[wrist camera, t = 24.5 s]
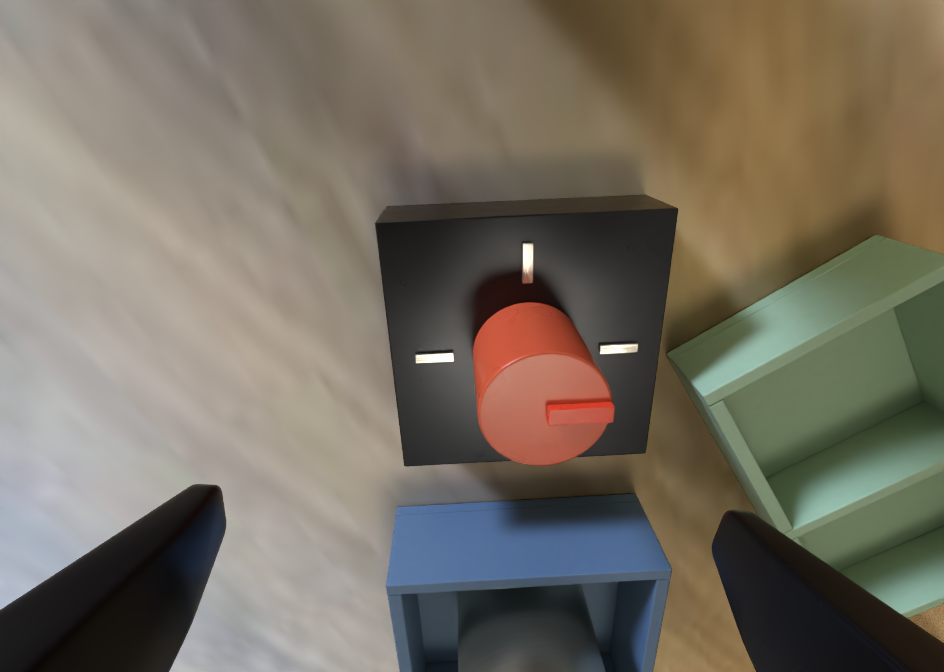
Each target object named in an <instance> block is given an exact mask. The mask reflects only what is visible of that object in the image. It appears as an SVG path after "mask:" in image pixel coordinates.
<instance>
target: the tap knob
mask: <svg viewBox="0 0 944 672" xmlns="http://www.w3.org/2000/svg"><path fill="white" fill-rule="evenodd" d="M473 365H474V377H475V389H476V401H477V413H478V422H479V426H480V429H481V431H482V433H483V436H484V437H485V439H486V440H487V442H488V443H489V444H490V445H491V446H492V447H493V448H494V449H495V450H496V451H497V452H498V453H500V454H501V455H503V456H504V457H506V458H508V459H510V460H513V461H515V462H518V463H522V464H527V465H535V466H544V465H553V464H557V463H561V462H564V461H568V460H570V459H572V458H574V457H576V456H578V455H580V454H582V453H583V452H585V451H586V450H587V449H589V448H590V447H591V446H592V445H593V444H594V443H595V442H596V441H597V440H598V439H599V438H600V436H601V435H602V433H603V432H604V430H605V428H606V426H607V424H608V423H613V420H614V410H615V406H614V405H613V403H612V396H611V391H610V387H609V385H608V383H607V381H606V378H605V377H604V375H603V373H602V372H601V370H600V368H599V366H598V365H597V363H596V361H595V359H594V358H593V356H592V354H591V352H590V351H589V349H588V347H587V346H586V344H585V342H584V340H583V339H582V337H581V335H580V333H579V332H578V330H577V328H576V326H575V325H574V323H573V322H572V321H571V320H570V319H569V317H568V316H567V315H565V314H564V313H563V312H561V311H560V310H558V309H556V308H554V307H552V306H550V305H546V304H542V303H535V302H526V303H519V304H514V305H511V306H508V307H506V308H504V309H502V310H500V311H498V312H497V313H495V314H494V315H493V316H491V317H490V318H489V319H488V320H487V321H486V322H485V323H484V325H483V326H482V327H481V329H480V330H479V332H478V334H477V336H476V339H475V342H474V346H473Z"/></svg>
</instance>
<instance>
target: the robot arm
mask: <svg viewBox="0 0 944 672" xmlns="http://www.w3.org/2000/svg"><path fill="white" fill-rule="evenodd" d="M225 530H226V516H225V509H224V502H223V495H222V491H221V488H220V487H219V486H217V485H207V484H195V485H192V486H190V487H188V488H187V489H185V490H184V491H182V492H181V493H179V494H178V495H176V496H175V497H173V498H171V499H170V500H168V501H167V502H165V503H164V504H162V505H161V506H159V507H158V508H156V509H155V510H153V511H151V512H150V513H148V514H147V515H145V516H144V517H142V518H141V519H139V520H138V521H136V522H135V523H133V524H132V525H130V526H128V527H127V528H125V529H124V530H122V531H121V532H119V533H118V534H116V535H115V536H113V537H112V538H110V539H109V540H107V541H105V542H104V543H102V544H101V545H99V546H98V547H96V548H95V549H93V550H92V551H90V552H89V553H87V554H85V555H84V556H82V557H81V558H79V559H78V560H76V561H75V562H73V563H72V564H70V565H69V566H67V567H66V568H64V569H62V570H61V571H59V572H58V573H56V574H55V575H53V576H52V577H50V578H49V579H47V580H46V581H44V582H42V583H41V584H39V585H38V586H36V587H35V588H33V589H32V590H30V591H29V592H27V593H26V594H24V595H23V596H21V597H19V598H18V599H16V600H15V601H13V602H12V603H10V604H9V605H7V606H6V607H4V608H3V609H1V610H0V672H169V671H170V669H171V667H172V665H173V662H174V660H175V658H176V656H177V654H178V652H179V650H180V648H181V646H182V644H183V642H184V640H185V637H186V635H187V633H188V631H189V629H190V626H191V624H192V621H193V619H194V616H195V614H196V611H197V609H198V606H199V603H200V600H201V598H202V595H203V592H204V589H205V587H206V584H207V581H208V578H209V576H210V573H211V570H212V567H213V565H214V562H215V559H216V556H217V554H218V551H219V548H220V545H221V543H222V540H223V537H224V534H225ZM712 553H713V557H714V560H715V563H716V566H717V569H718V572H719V575H720V578H721V581H722V584H723V586H724V589H725V592H726V595H727V598H728V601H729V604H730V607H731V610H732V613H733V615H734V618H735V621H736V624H737V627H738V630H739V632H740V635H741V638H742V640H743V643H744V645H745V647H746V650H747V652H748V654H749V657H750V659H751V661H752V663H753V666H754V668H755V670H756V672H944V643H943V642H941V641H940V640H938V639H937V638H935V637H934V636H932V635H931V634H929V633H928V632H927V631H925V630H924V629H922V628H921V627H919V626H918V625H916V624H915V623H913V622H912V621H910V620H909V619H907V618H906V617H905V616H903V615H902V614H900V613H899V612H897V611H896V610H894V609H893V608H891V607H890V606H888V605H887V604H886V603H884V602H883V601H881V600H880V599H878V598H877V597H875V596H874V595H872V594H871V593H869V592H868V591H866V590H865V589H864V588H862V587H861V586H859V585H858V584H856V583H855V582H853V581H852V580H850V579H849V578H847V577H846V576H844V575H843V574H842V573H840V572H839V571H837V570H836V569H834V568H833V567H831V566H830V565H828V564H827V563H825V562H824V561H823V560H821V559H820V558H818V557H817V556H815V555H814V554H812V553H811V552H809V551H808V550H806V549H805V548H803V547H802V546H801V545H799V544H798V543H796V542H795V541H793V540H792V539H790V538H789V537H787V536H786V535H784V534H783V533H781V532H780V531H779V530H777V529H776V528H774V527H773V526H771V525H770V524H768V523H767V522H765V521H764V520H762V519H761V518H760V517H758V516H757V515H755V514H754V513H752V512H749V511H736V510H730V511H727V512H726V513H725V514H724V515H723V518H722V520H721V522H720V525H719V527H718V530H717V532H716V535H715V537H714V540H713V543H712Z"/></svg>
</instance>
